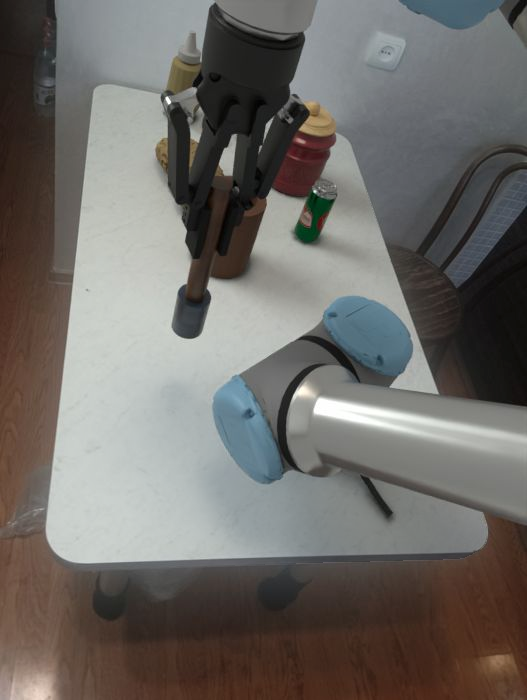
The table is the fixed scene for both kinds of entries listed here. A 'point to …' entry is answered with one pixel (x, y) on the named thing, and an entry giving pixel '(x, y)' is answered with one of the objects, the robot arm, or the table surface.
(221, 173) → the sponge
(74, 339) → the table surface
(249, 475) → the robot arm
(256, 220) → the jar
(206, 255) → the brush
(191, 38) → the squeeze bottle
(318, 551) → the table surface
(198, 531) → the table surface
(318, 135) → the kitchen canister
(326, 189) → the soda can
